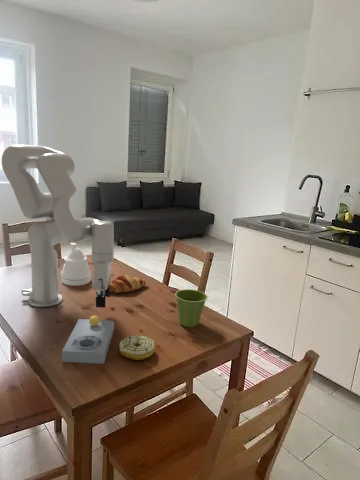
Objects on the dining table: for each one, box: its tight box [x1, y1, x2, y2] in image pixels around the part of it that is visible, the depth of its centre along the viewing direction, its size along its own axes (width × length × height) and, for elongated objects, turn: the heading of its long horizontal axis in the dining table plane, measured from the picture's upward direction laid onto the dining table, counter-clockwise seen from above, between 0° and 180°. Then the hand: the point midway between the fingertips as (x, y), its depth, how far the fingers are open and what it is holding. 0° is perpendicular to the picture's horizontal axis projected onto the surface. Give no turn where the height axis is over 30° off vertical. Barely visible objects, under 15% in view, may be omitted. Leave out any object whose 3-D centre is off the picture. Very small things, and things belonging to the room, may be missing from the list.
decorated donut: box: [119, 335, 156, 361], centre depth 109 cm, size 10×11×4 cm
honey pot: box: [60, 242, 92, 287], centre depth 160 cm, size 13×13×18 cm
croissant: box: [109, 274, 148, 294], centre depth 156 cm, size 21×10×8 cm
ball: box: [88, 315, 101, 326], centre depth 117 cm, size 3×3×3 cm
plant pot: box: [174, 288, 209, 328], centre depth 130 cm, size 12×12×11 cm
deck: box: [61, 318, 115, 365], centre depth 112 cm, size 20×12×4 cm, turn 2°
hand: (103, 301), depth 128 cm, fingers open, 9 cm apart
